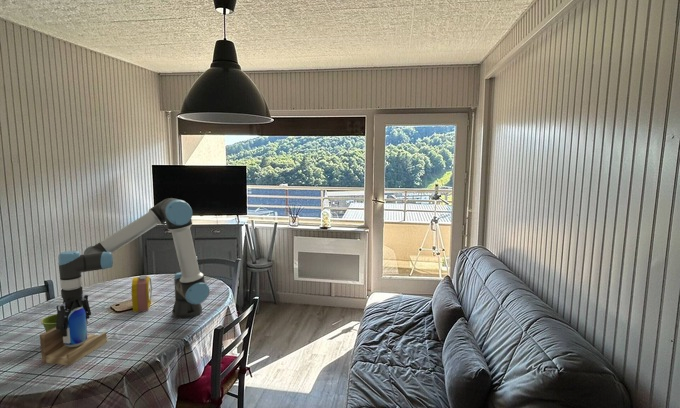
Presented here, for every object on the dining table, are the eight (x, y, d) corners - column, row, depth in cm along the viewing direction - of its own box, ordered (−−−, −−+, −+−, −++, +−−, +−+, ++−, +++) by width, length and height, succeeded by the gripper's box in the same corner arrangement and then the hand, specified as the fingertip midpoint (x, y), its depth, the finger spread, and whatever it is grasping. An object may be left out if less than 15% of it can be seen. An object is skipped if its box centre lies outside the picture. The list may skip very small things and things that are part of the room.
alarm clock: (149, 311, 210) (147, 279, 208) (132, 313, 207) (130, 280, 205) (152, 301, 224) (151, 271, 222) (136, 303, 221) (135, 272, 219)
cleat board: (106, 342, 174) (105, 317, 173) (69, 365, 155) (67, 337, 153) (81, 339, 176) (80, 315, 175) (42, 362, 157) (39, 334, 155)
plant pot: (39, 349, 167) (37, 325, 166) (47, 338, 178) (45, 315, 177) (71, 344, 172) (69, 321, 171) (77, 333, 183) (75, 311, 181)
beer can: (75, 349, 160) (72, 312, 158) (59, 346, 162) (55, 311, 160) (92, 339, 168) (89, 305, 166) (76, 337, 170) (73, 303, 168)
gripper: (83, 279, 173) (87, 326, 176) (41, 295, 152) (46, 349, 155) (98, 280, 172) (102, 327, 175) (57, 296, 151) (62, 350, 154)
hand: (75, 337), depth 165 cm, fingers closed on beer can, 8 cm apart
